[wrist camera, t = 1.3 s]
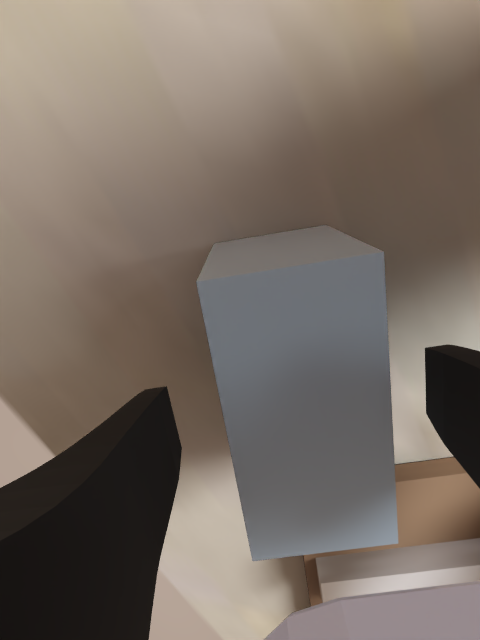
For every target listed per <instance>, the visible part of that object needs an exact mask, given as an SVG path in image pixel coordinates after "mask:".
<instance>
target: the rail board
mask: <svg viewBox="0 0 480 640" xmlns="http://www.w3.org/2000/svg"><path fill="white" fill-rule="evenodd" d="M395 484H396V504H397V524H398V544H391V545H382V546H374V547H366V548H357V549H349V550H341V551H333V552H324V553H316V554H308V555H303V558H304V564H305V571H306V578H307V585H308V591H309V598H310V605H311V607H312V606H315V605H318V604H321V603H324V602H327V601H330V600H333V599H336V598H341V597H349V596H358V595H366V594H374V593H382V592H391V591H399V590H407V589H416V588H424V587H432V586H440V585H449V584H457V583H465V582H474V581H480V488H479V487H478V486H477V485H476V483H475V482H474V481H473V480H472V478H471V477H470V476H469V475H468V474H467V472H466V471H465V470H464V469H463V467H462V466H461V465H460V463H459V462H458V461H457V460H456V458H455V457H451V458H444V459H436V460H429V461H421V462H413V463H406V464H398V465H395Z"/></svg>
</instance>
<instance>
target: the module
mask: <svg viewBox="0 0 480 640" xmlns="http://www.w3.org/2000/svg"><path fill="white" fill-rule="evenodd" d="M196 283H197V288H198V293H199V298H200V303H201V308H202V313H203V318H204V323H205V328H206V333H207V338H208V343H209V348H210V353H211V358H212V363H213V368H214V373H215V377H216V382H217V387H218V392H219V397H220V402H221V407H222V412H223V417H224V422H225V427H226V432H227V437H228V442H229V447H230V452H231V457H232V462H233V467H234V472H235V477H236V481H237V486H238V491H239V496H240V501H241V506H242V511H243V516H244V521H245V526H246V531H247V536H248V541H249V546H250V551H251V556H252V561H258V560H267V559H275V558H283V557H291V556H300V555H308V554H316V553H324V552H333V551H341V550H349V549H357V548H366V547H374V546H382V545H391V544H398V524H397V504H396V484H395V464H394V444H393V424H392V404H391V383H390V363H389V343H388V323H387V303H386V283H385V263H384V252H383V251H381V250H379V249H377V248H375V247H373V246H371V245H368V244H366V243H364V242H362V241H360V240H358V239H356V238H353V237H351V236H349V235H347V234H345V233H343V232H341V231H339V230H336V229H334V228H332V227H330V226H328V225H322V226H316V227H310V228H304V229H298V230H292V231H286V232H280V233H274V234H268V235H262V236H256V237H249V238H243V239H237V240H231V241H225V242H219V243H214V244H213V247H212V249H211V251H210V253H209V255H208V257H207V260H206V262H205V264H204V266H203V268H202V270H201V272H200V275H199V277H198V279H197V281H196Z"/></svg>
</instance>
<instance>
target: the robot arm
mask: <svg viewBox="0 0 480 640" xmlns="http://www.w3.org/2000/svg"><path fill="white" fill-rule="evenodd" d="M425 372H426V414H427V415H428V417H429V419H430V421H431V423H432V424H433V426H434V428H435V430H436V431H437V433H438V435H439V436H440V438H441V440H442V441H443V443H444V444H445V446H446V447H447V448H448V449H449V451H450V452H451V453H452V455H453V456H454V457H455V458H456V460H457V461H458V462H459V463H460V465H461V466H462V467H463V469H464V470H465V471H466V472H467V474H468V475H469V476H470V477H471V478H472V480H473V481H474V482H475V483H476V485H477V486H478V487H479V488H480V351H476V350H472V349H468V348H464V347H460V346H455V345H442V346H435V347H428V348H425ZM181 450H182V447H181V443H180V439H179V435H178V431H177V427H176V423H175V419H174V415H173V411H172V406H171V402H170V398H169V394H168V390H167V386H166V387H160V388H153V389H146V390H144V391H142V392H141V393H139V394H138V395H137V396H135V397H134V398H133V399H131V400H130V401H129V402H128V403H126V404H125V405H124V406H123V407H122V408H120V409H119V410H118V411H117V412H115V413H114V414H113V415H112V416H111V417H109V418H108V419H107V420H106V421H104V422H103V423H102V424H101V425H99V426H98V427H97V428H95V429H94V430H93V431H91V432H90V433H89V434H87V435H86V436H85V437H83V438H82V439H81V440H79V441H78V442H77V443H75V444H74V445H72V446H71V447H70V448H68V449H67V450H65V451H64V452H62V453H61V454H59V455H58V456H56V457H54V458H53V459H51V460H50V461H48V462H46V463H45V464H43V465H42V466H40V467H38V468H37V469H35V470H33V471H31V472H30V473H28V474H26V475H24V476H22V477H20V478H18V479H17V480H15V481H13V482H11V483H9V484H7V485H5V486H3V487H2V488H0V640H148V639H149V631H150V623H151V614H152V606H153V599H154V592H155V584H156V577H157V571H158V566H159V561H160V556H161V552H162V547H163V543H164V539H165V535H166V531H167V527H168V523H169V519H170V515H171V510H172V506H173V502H174V498H175V494H176V489H177V485H178V480H179V472H180V462H181ZM264 640H480V581H474V582H465V583H457V584H449V585H440V586H432V587H424V588H416V589H407V590H399V591H391V592H382V593H374V594H366V595H358V596H349V597H341V598H336V599H333V600H330V601H327V602H324V603H321V604H318V605H315V606H312V607H308V608H305V609H302V610H299V611H296V612H293V613H291V614H290V615H289V616H288V617H287V618H286V619H285V620H284V621H283V622H282V623H281V624H280V625H279V626H277V627H276V628H275V629H274V630H273V631H272V632H271V633H270V634H269V635H268V636H267V637H266V638H265V639H264Z"/></svg>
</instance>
